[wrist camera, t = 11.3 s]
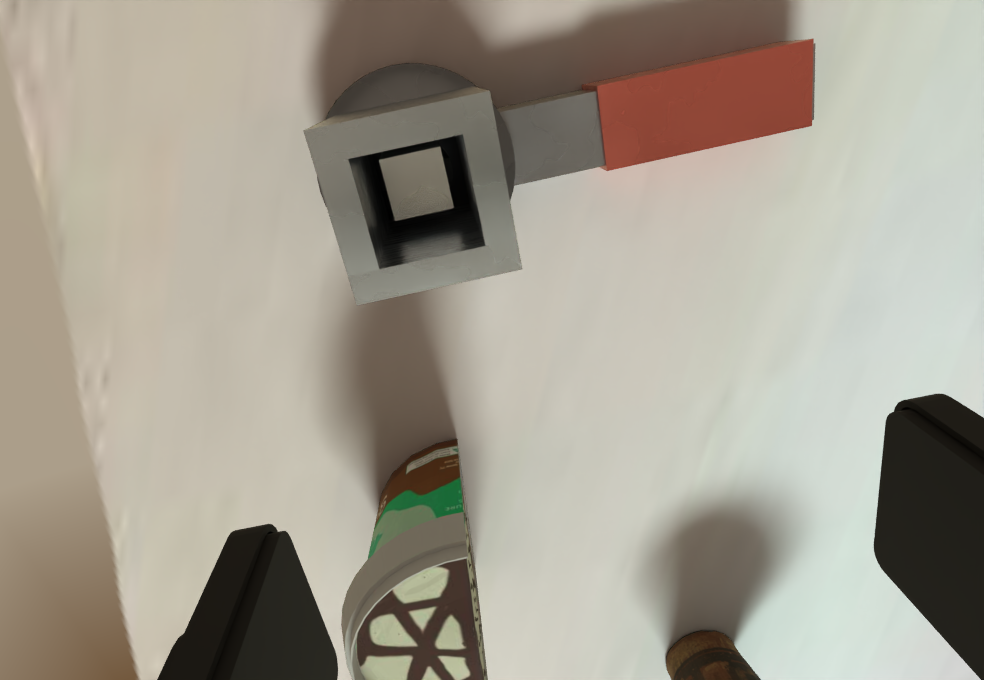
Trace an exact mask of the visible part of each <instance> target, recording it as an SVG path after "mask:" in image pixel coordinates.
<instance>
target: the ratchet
mask: <svg viewBox="0 0 984 680" xmlns="http://www.w3.org/2000/svg"><path fill="white" fill-rule="evenodd" d="M814 82H815V44H813V39H807V40H795V41H783V42H776V43H772V44H767V45H763V46H758V47H753V48H749V49H744V50H740V51H735V52H730V53H726V54H721V55H717V56H712V57H707V58H703V59H698V60H694V61H689V62H684V63H680V64H675V65H671V66H666V67H661V68H657V69H652V70H648V71H643V72H639V73H634V74H629V75H625V76H620V77H616V78H611V79H606V80H602V81H597V82H593V83H588V84H583V85H582V90H578V91H574V92H569V93H565V94H560V95H555V96H551V97H546V98H542V99H537V100H533V101H528V102H523V103H519V104H514V105H510V106H505V107H500V108H496V107H495V106H494V104H493V103H492V105H493V110H494V116H495V121H496V127H497V132H498V138H499V143H500V149H501V154H502V160H503V165H504V171H505V176H506V182H507V188H508V193H509V199H510V200H511V196H512V192H513V188H514V185H519V184H524V183H528V182H533V181H537V180H542V179H546V178H551V177H555V176H560V175H564V174H569V173H574V172H578V171H583V170H587V169H592V168H596V167H600V168H602V169H604V170H606V171H609V170H614V169H618V168H623V167H627V166H632V165H636V164H641V163H645V162H650V161H654V160H659V159H663V158H668V157H673V156H677V155H682V154H686V153H691V152H695V151H700V150H704V149H709V148H713V147H718V146H722V145H727V144H732V143H736V142H741V141H745V140H750V139H754V138H759V137H763V136H768V135H772V134H777V133H781V132H786V131H791V130H795V129H800V128H804V127H809V126H812V120H814ZM470 86H473V87H476V86H475V85H474V84H473V83H471V82H470V81H468V80H467V79H465V78H463V77H462V76H460V75H458V74H456V73H454V72H451V71H449V70H447V69H444V68H440V67H437V66H433V65H427V64H420V63H405V64H398V65H392V66H388V67H385V68H381V69H378V70H376V71H374V72H372V73H370V74H367V75H365V76H364V77H362V78H361V79H359V80H358V81H356V82H355V83H354V84H352V85H351V86H350V87H349V88H348V89H347V90H346V91H344V93H343V94H342V95H341V96H340V97H339V98H338V100H337V101H336V102H335V103H334V105H333V107H332V108H331V110H330V111H329V113H328V115H327V117H326V119H325V120H327V119H329V118H331V117H333V116H335V115H339V114H344V113H349V112H353V111H358V110H363V109H367V108H372V107H377V106H381V105H386V104H391V103H395V102H400V101H405V100H410V99H414V98H419V97H424V96H428V95H433V94H438V93H442V92H447V91H452V90H456V89H461V88H466V87H470ZM372 156H373V160H374V163H375V167H376V171H377V175H378V178H379V182H380V186H381V190H382V193H383V197H384V201H385V205H386V209H387V212H388V216H389V220H395V221H397V220H402V219H406V218H411V217H415V216H420V215H425V214H429V213H434V212H438V211H443V210H447V209H452V208H454V207H455V206H459V205H464V204H468V203H469V198H468V193H467V188H466V184H465V179H464V174H463V169H462V164H461V160H460V155H459V150H458V145H457V140H456V136H453V137H448V138H443V139H439V140H434V141H429V142H425V143H420V144H415V145H411V146H406V147H402V148H397V149H392V150H388V151H383V152H378V153H374V154H372ZM317 179H318V176H317ZM318 183H319V180H318ZM319 188H320V192H321V195H322V197H323V200H324V203H325V199H324V196H323V193H322V190H321V186H320V183H319ZM325 205H326V203H325ZM326 207H327V206H326Z"/></svg>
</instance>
